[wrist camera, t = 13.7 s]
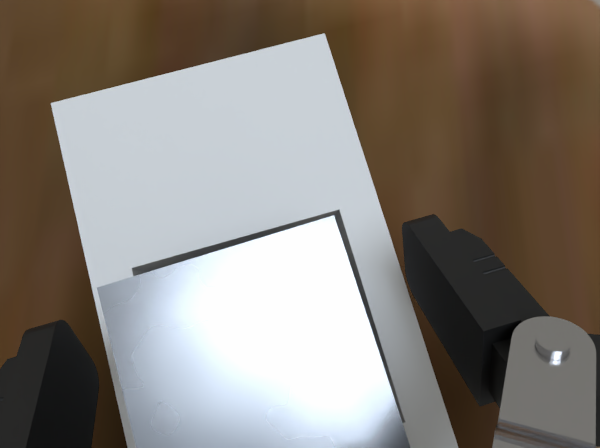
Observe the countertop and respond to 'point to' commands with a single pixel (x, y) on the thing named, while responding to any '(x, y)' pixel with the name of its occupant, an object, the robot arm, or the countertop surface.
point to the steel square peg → (252, 349)
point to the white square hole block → (241, 191)
